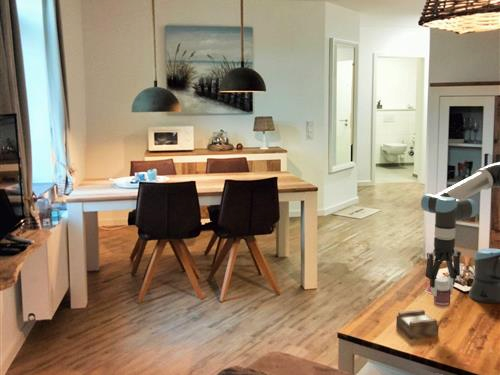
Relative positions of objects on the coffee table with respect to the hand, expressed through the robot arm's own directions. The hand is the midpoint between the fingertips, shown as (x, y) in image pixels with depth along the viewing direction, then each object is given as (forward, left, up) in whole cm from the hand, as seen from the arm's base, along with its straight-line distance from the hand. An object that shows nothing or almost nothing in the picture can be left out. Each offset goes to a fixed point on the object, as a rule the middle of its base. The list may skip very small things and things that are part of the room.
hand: (441, 293), depth 213 cm
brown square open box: (+7, -5, -17) cm, 19 cm away
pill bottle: (0, 0, -5) cm, 5 cm away
